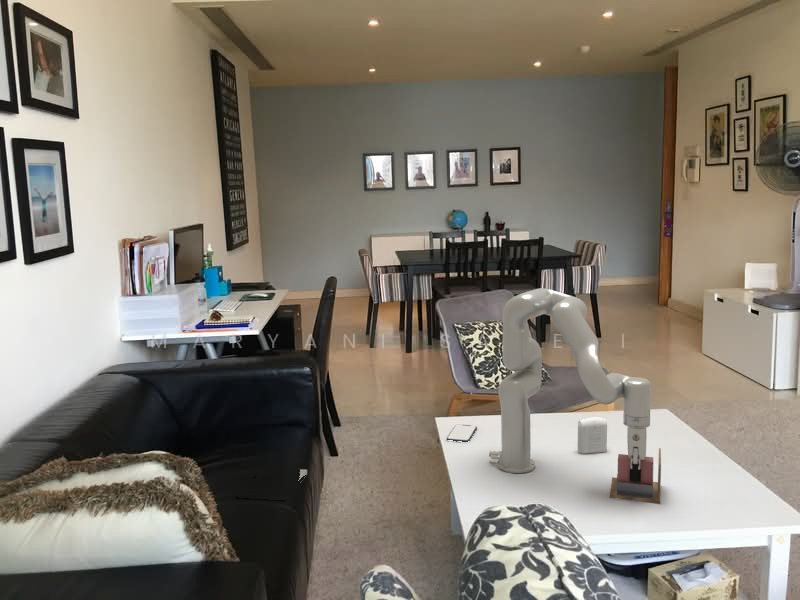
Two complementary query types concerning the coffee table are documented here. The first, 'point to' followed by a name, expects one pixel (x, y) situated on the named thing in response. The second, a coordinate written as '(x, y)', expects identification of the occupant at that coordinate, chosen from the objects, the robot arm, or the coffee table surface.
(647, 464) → the book
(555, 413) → the coffee table surface
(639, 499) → the shelf
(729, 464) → the coffee table surface
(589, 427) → the photo printer
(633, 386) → the robot arm
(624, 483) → the bookend
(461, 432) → the phone case
